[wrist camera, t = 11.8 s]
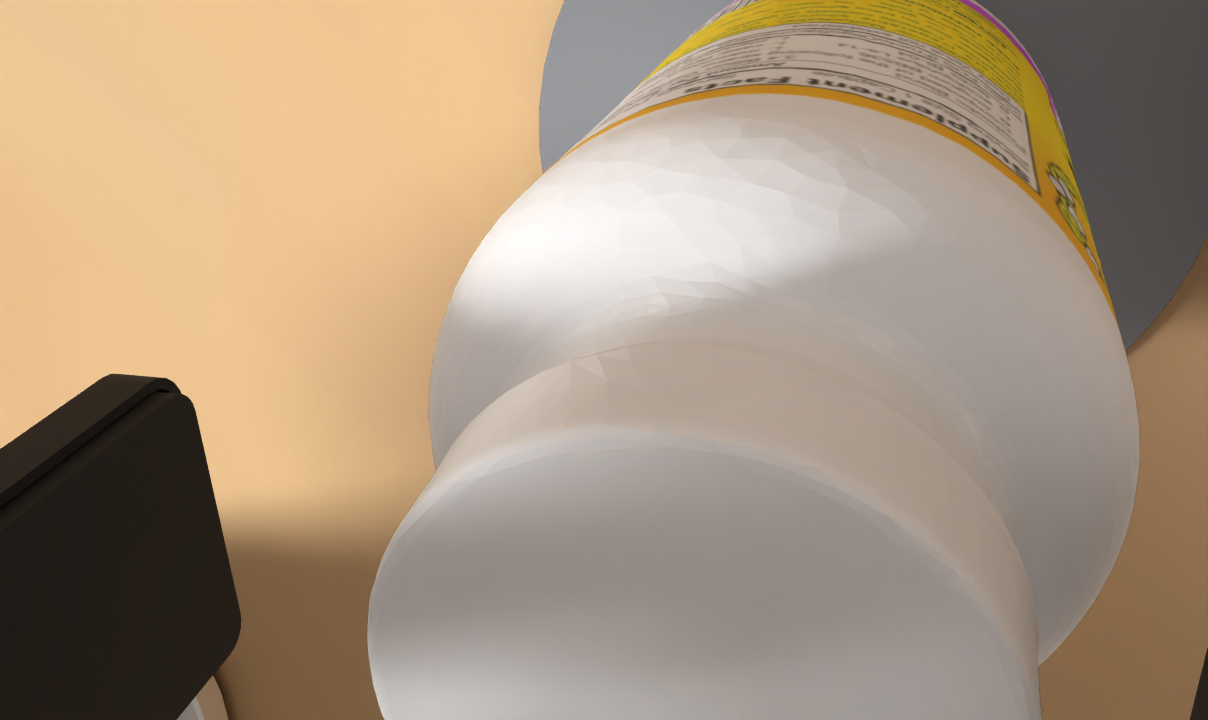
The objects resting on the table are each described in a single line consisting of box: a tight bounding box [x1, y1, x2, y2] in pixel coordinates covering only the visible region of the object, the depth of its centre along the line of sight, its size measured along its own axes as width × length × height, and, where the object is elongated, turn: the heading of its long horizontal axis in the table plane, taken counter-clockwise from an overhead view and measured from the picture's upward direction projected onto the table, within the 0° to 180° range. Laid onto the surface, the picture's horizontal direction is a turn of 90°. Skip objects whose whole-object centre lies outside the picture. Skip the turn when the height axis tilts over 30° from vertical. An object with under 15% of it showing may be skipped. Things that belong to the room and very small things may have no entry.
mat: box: [539, 0, 1208, 350], centre depth 19 cm, size 11×11×1 cm
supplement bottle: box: [367, 0, 1139, 720], centre depth 13 cm, size 7×7×13 cm
